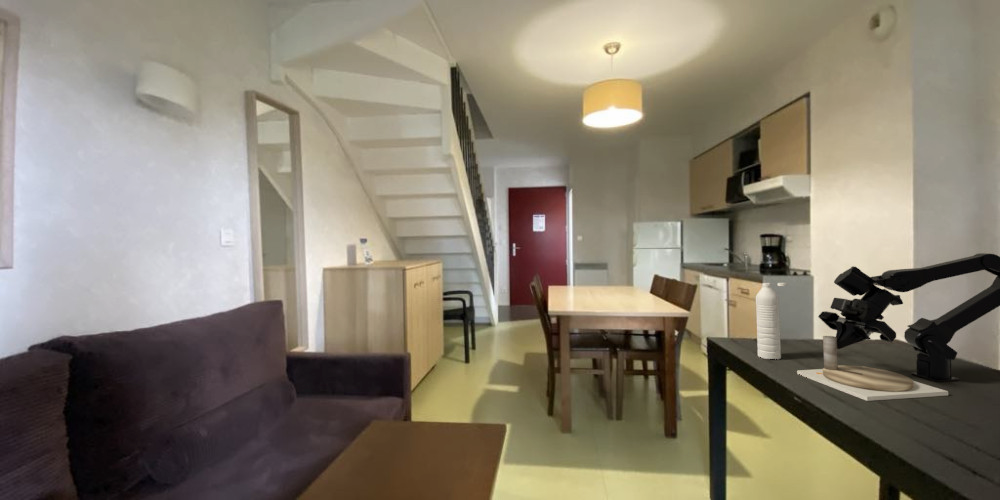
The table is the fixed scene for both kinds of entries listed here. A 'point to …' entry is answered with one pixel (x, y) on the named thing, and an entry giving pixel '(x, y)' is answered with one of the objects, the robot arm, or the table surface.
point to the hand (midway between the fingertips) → (835, 347)
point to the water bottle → (768, 322)
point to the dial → (860, 372)
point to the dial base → (872, 394)
